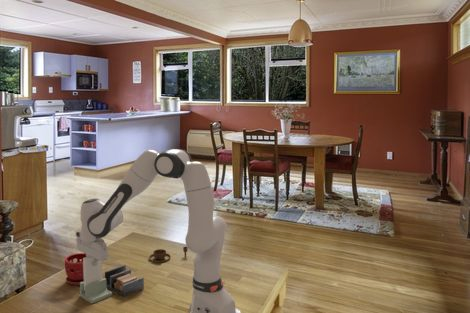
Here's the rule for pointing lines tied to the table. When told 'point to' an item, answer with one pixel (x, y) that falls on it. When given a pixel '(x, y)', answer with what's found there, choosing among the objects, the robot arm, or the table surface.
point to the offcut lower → (118, 286)
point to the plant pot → (74, 268)
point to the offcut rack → (126, 288)
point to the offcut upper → (126, 279)
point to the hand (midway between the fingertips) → (92, 264)
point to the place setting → (163, 255)
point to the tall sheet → (91, 271)
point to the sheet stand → (94, 291)
